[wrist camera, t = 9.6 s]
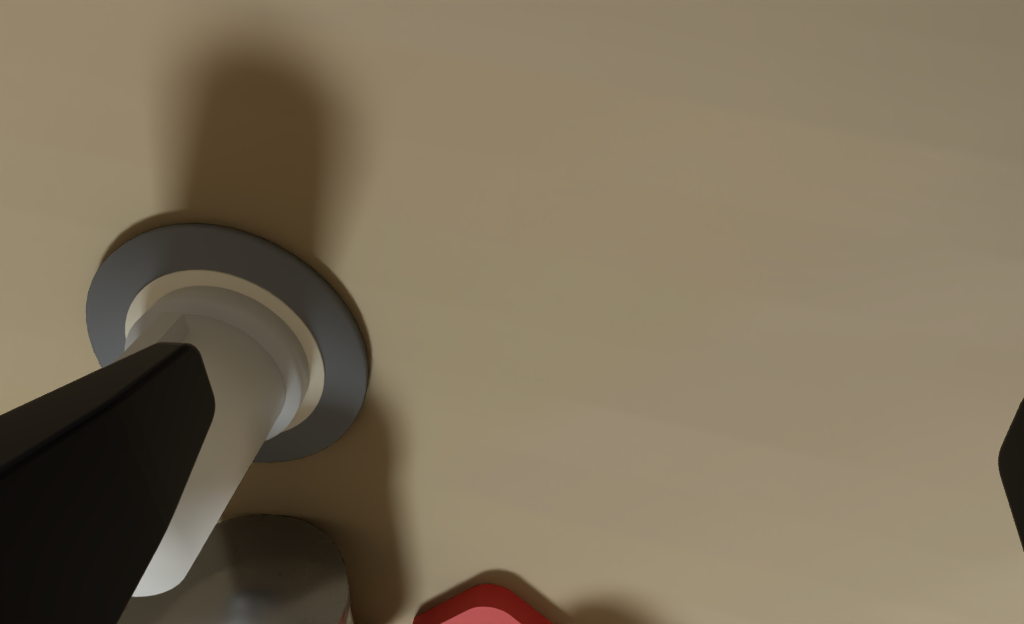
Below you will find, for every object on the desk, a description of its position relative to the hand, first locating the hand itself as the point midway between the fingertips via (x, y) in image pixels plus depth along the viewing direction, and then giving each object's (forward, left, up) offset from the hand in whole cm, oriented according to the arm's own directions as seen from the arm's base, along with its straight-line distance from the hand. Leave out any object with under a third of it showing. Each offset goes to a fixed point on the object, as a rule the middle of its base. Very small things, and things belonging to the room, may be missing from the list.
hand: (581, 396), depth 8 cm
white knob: (+11, +8, -11) cm, 18 cm away
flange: (+11, +8, -12) cm, 18 cm away
